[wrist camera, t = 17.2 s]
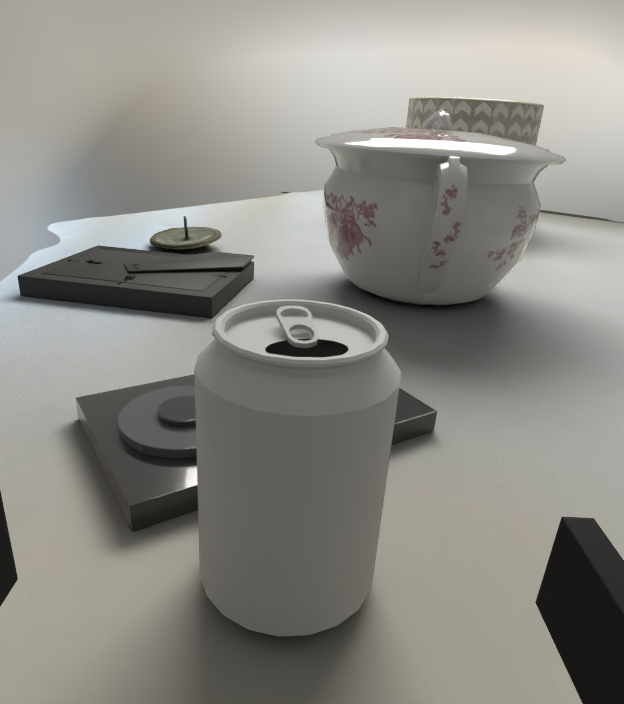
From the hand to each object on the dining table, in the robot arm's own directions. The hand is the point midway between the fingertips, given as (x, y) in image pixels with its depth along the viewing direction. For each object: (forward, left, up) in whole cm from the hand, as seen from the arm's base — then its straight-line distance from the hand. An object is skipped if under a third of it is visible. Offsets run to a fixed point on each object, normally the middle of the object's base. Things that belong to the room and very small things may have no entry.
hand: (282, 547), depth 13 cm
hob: (-19, +9, -9) cm, 23 cm away
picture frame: (-52, +12, -9) cm, 54 cm away
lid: (-69, +24, -9) cm, 74 cm away
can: (-7, +5, -9) cm, 12 cm away
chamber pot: (-39, +42, -9) cm, 58 cm away
